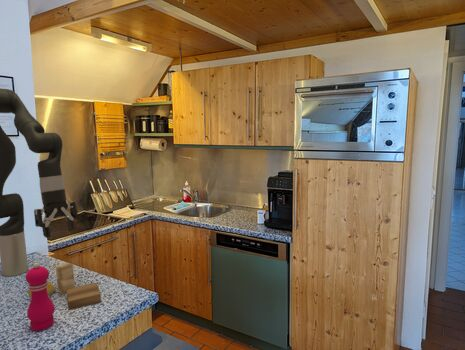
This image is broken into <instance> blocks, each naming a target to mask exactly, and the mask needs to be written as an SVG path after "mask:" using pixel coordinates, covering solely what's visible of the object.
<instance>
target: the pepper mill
mask: <svg viewBox="0 0 465 350" xmlns="http://www.w3.org/2000/svg"><path fill="white" fill-rule="evenodd" d="M49 277H50V272H49V270H48V268H47V267H44V266H43V265H42V266H41V264H40V263H39V262H34V263H33V265H32V268H30V269H28V270H27V271H26V274H25V281H26V282H27V284H28V291H29V290H30V291H31V297H30V302H29V305H28V308H27V313H26V314H27V315H26V316H27V319H29V321H30V322H29V326H30V329H31V330H32V331H38V332H39V331H43V330H45V329H48V328H50V327H51V326H52V325H53V324H54V323H55V319H54V317H55V316H54V315H53V314H54V313H55V311H56V310H55V305H54V302H53V300H52V299H51V298H50V295H49V296H48V294H47V286H48V282H49V281H48V278H49Z"/></svg>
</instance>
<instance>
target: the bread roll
mask: <svg viewBox="0 0 465 350" xmlns="http://www.w3.org/2000/svg"><path fill="white" fill-rule="evenodd" d="M55 291H56V287H55V285H54V284H53V283H52V282H50V281H48V286H47V294H48V296H49V297H50V296H51V295H52V294H54V293H55ZM28 294H29V297H30V298H31V291H30V290H29V289H28Z"/></svg>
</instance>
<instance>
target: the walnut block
mask: <svg viewBox="0 0 465 350" xmlns="http://www.w3.org/2000/svg"><path fill="white" fill-rule="evenodd" d="M101 296H102V295H101V292H100V288H99V286H98V283H97V282H96V281H95V282H92V283H87V284H83V285H78V286H75V287H74V288H69V289H67V294H66V297H67V305H68V311H70V310H74V309H79V308H83V307H86V306H87V307H88V306H92V305H96V304H99V303H102V298H101Z"/></svg>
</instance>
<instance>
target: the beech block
mask: <svg viewBox="0 0 465 350" xmlns="http://www.w3.org/2000/svg"><path fill="white" fill-rule="evenodd" d="M55 271H56V282H57V292H58V293H60V294H62V295H67V289H69V288H74V287H76V285H75V277H74V276H75V274H74V264H72V263H69V262H64V263H60V264H59V265H56V266H55Z"/></svg>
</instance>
